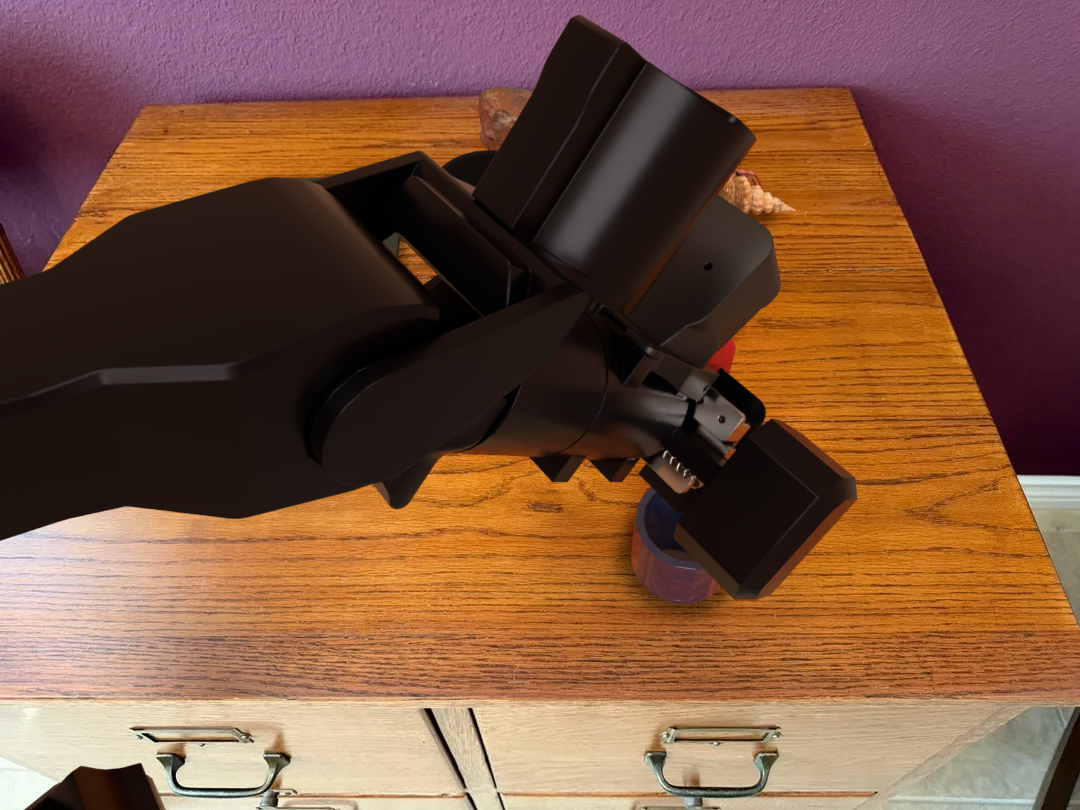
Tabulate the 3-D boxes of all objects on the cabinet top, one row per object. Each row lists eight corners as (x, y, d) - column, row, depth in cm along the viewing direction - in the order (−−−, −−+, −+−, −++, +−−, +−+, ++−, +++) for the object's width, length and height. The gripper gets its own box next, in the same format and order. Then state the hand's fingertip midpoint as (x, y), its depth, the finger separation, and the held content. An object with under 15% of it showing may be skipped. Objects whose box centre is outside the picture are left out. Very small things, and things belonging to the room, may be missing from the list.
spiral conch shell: (773, 185, 73) (783, 143, 69) (793, 219, 70) (804, 176, 66) (631, 203, 72) (634, 161, 68) (644, 238, 69) (648, 196, 65)
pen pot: (702, 622, 47) (715, 588, 43) (613, 573, 49) (617, 535, 45) (743, 544, 50) (758, 505, 46) (658, 500, 53) (665, 460, 49)
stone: (613, 162, 75) (618, 64, 68) (607, 218, 70) (612, 119, 62) (485, 155, 77) (476, 58, 69) (470, 210, 72) (458, 112, 64)
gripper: (920, 348, 20) (988, 399, 33) (505, 62, 30) (682, 187, 42) (668, 639, 24) (816, 584, 37) (366, 301, 33) (568, 351, 46)
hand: (714, 409), depth 40 cm, fingers closed
